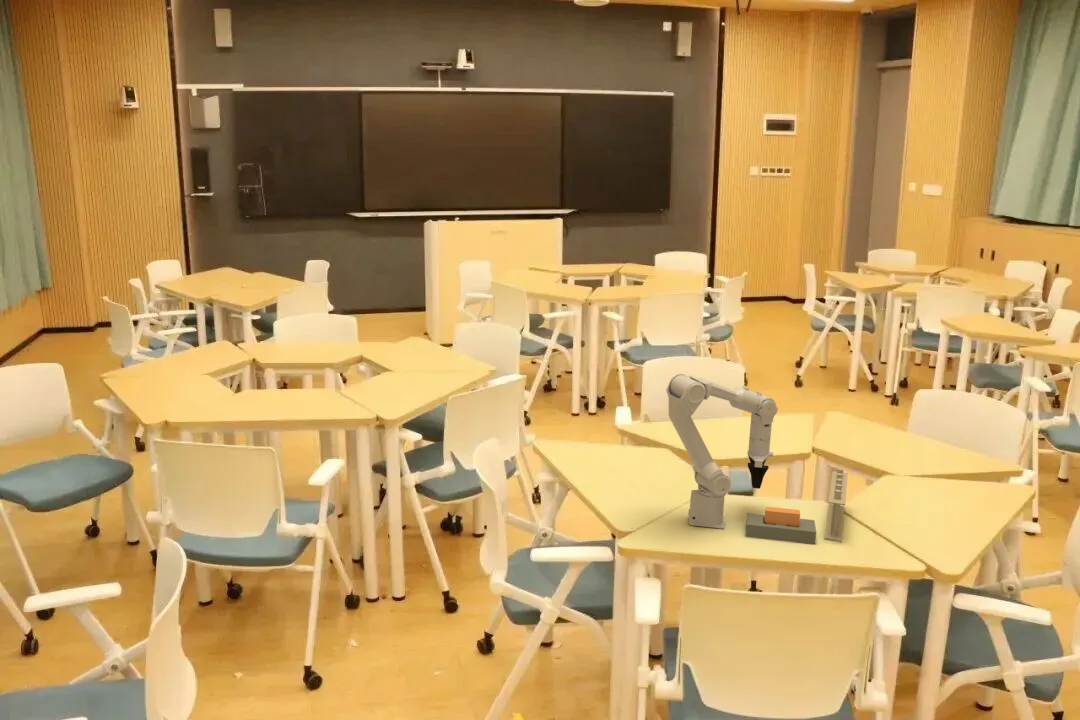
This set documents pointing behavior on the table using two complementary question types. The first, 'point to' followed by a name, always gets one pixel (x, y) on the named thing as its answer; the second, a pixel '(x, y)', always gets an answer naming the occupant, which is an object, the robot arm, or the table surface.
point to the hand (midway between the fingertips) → (756, 483)
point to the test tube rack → (836, 506)
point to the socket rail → (780, 530)
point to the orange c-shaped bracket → (782, 516)
